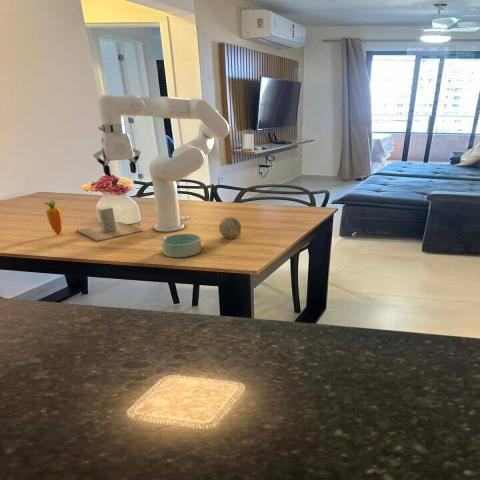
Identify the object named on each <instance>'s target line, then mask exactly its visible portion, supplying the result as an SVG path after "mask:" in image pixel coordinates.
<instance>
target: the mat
mask: <svg viewBox="0 0 480 480" xmlns="http://www.w3.org/2000/svg"><path fill="white" fill-rule="evenodd" d="M115 224H116V229H117V230H115V231H110V232H103V231H102V228H101V225H97V226H92V227H87V228H82V229H81V228H80V229H77V230H76V231H77V232H78V233H80V234H82V235H84V236H86V237H88V238H90V239H91V240H94V241H96V242H101V241H105V240H109V239H114V238H119V237H122V236H127V235H131V234H136V233H141V232H142V230H140V229H138V228H135V227H133V226H131V225H128V224H126V223H124V222H122V221H117V222H115Z"/></svg>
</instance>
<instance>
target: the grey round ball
mask: <svg viewBox="0 0 480 480" xmlns="http://www.w3.org/2000/svg"><path fill="white" fill-rule="evenodd" d="M242 227H243V226H242V223H241V221H240V220H239V219H238V218H236V217H233V216H230V217H229V216H226V217H224V218H223V219H222V220H221V221H220V223H219V227H218V231H219V233H220V234H221V236H222V237H226V238H227V239H230V240H231V239H235V238H237V237H239V236H240V235H241V233H242Z"/></svg>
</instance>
